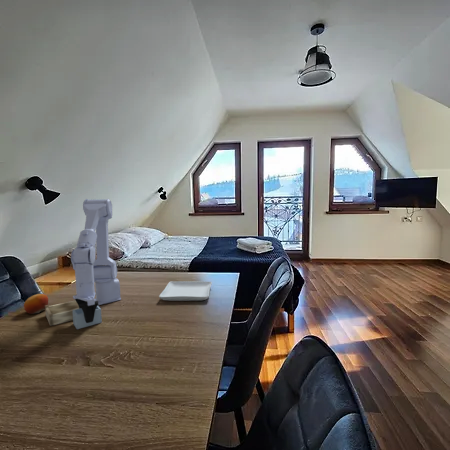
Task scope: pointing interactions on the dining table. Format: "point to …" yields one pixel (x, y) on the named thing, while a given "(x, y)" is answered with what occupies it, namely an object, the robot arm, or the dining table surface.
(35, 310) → the fruit
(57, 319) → the pine crate
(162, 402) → the dining table surface
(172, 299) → the salad plate
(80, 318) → the small crate
